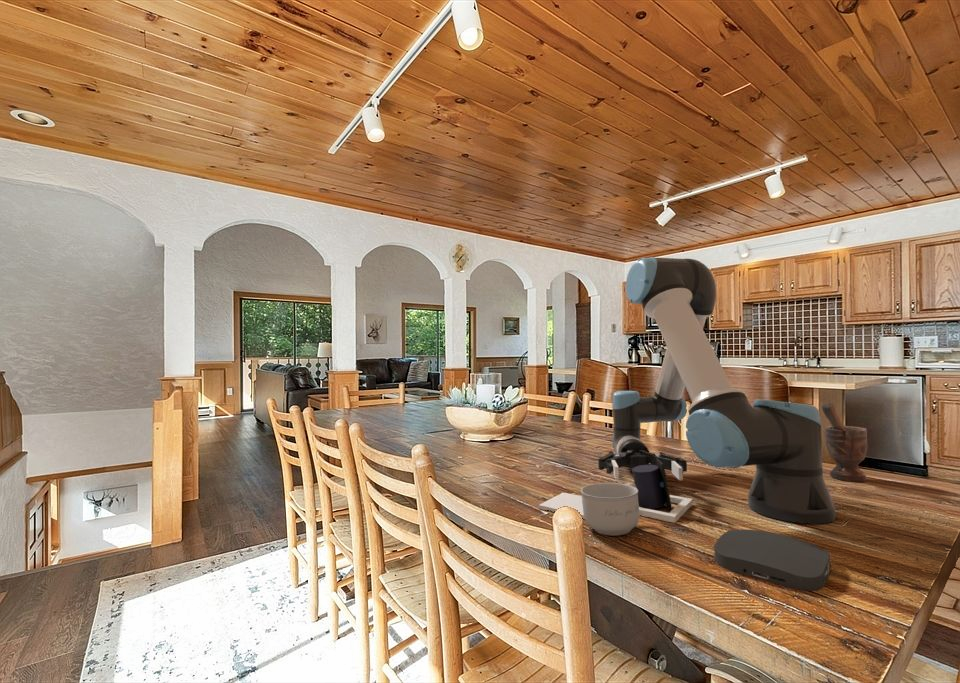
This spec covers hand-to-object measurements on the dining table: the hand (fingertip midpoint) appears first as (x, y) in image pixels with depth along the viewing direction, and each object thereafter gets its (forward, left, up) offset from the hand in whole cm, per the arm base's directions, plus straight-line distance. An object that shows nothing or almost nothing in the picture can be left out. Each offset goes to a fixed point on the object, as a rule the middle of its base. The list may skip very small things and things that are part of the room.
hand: (648, 473), depth 100 cm
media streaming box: (-25, +15, -8) cm, 30 cm away
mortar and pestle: (-34, -49, -7) cm, 59 cm away
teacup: (+1, +16, -7) cm, 18 cm away
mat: (+13, +10, -7) cm, 18 cm away
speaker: (-1, 0, -7) cm, 7 cm away
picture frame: (-1, 0, -7) cm, 7 cm away
